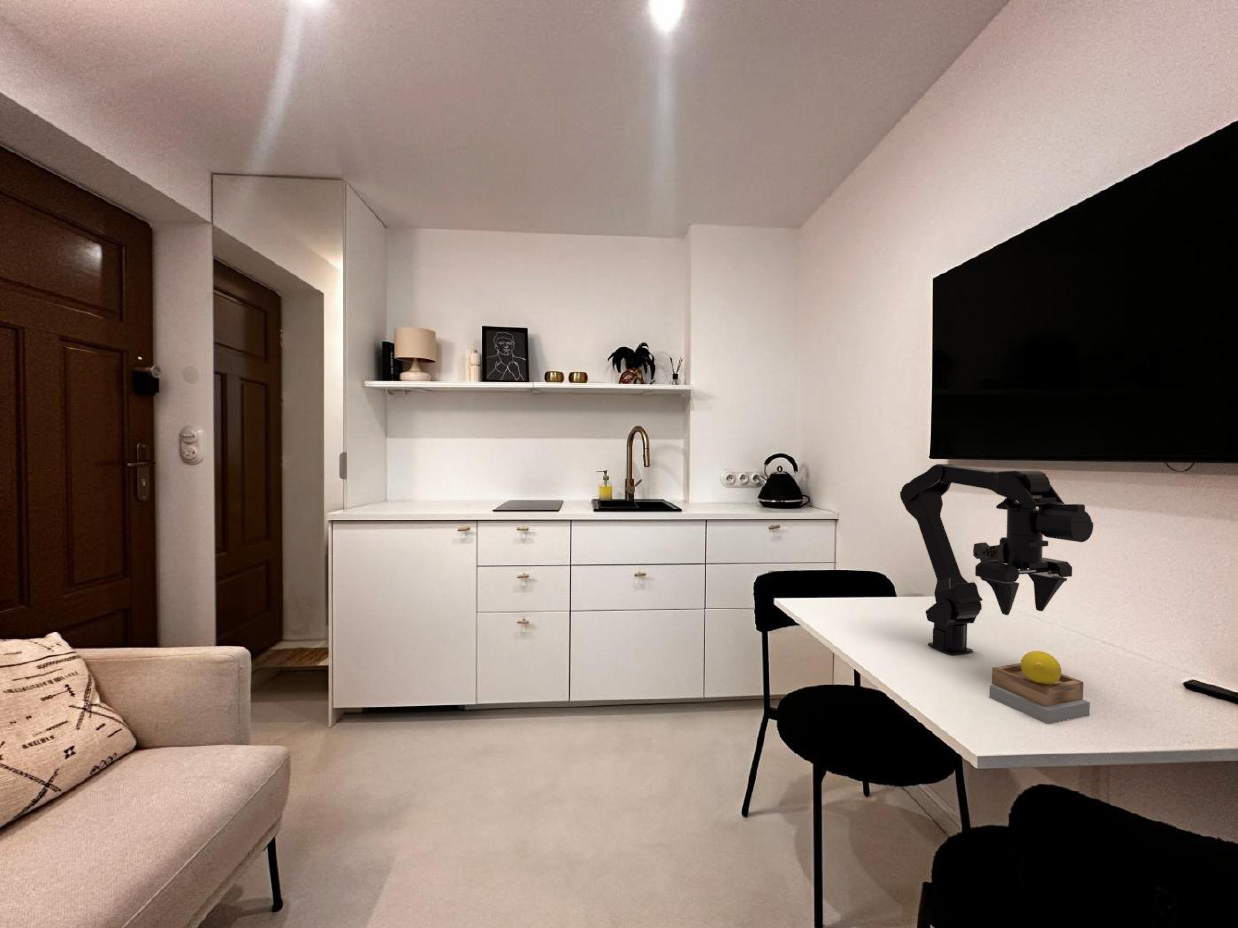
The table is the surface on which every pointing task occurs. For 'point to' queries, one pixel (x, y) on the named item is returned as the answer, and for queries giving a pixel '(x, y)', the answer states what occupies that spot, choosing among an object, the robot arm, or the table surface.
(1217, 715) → the table surface
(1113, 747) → the table surface
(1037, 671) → the lemon
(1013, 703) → the bottom block
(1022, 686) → the wooden tray
